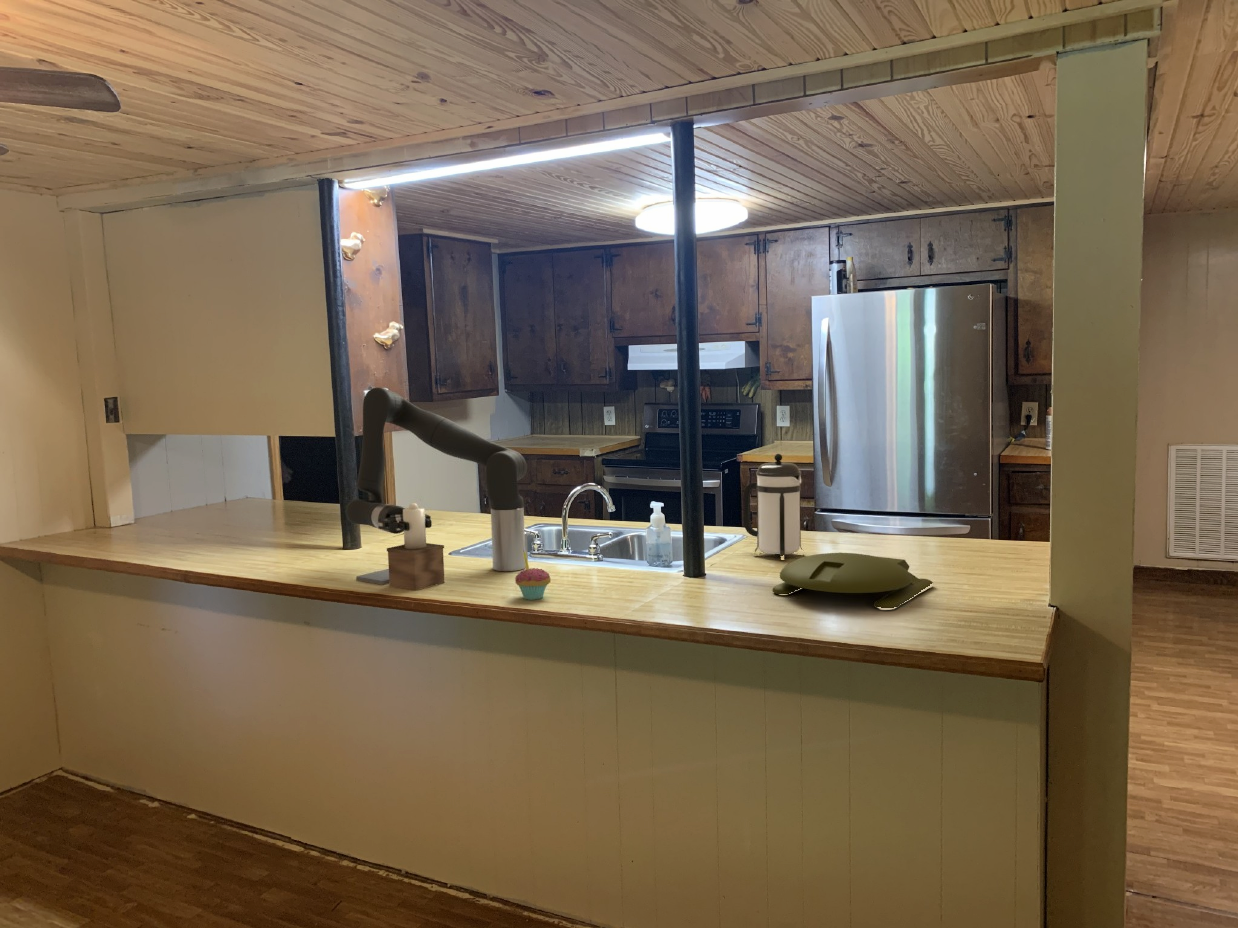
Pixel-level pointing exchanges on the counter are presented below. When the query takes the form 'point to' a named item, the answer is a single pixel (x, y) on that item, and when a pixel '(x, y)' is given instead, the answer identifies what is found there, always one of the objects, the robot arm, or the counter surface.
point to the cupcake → (532, 581)
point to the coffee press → (776, 508)
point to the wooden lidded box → (416, 566)
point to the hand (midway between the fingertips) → (418, 525)
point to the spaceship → (852, 576)
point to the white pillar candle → (414, 527)
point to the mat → (375, 577)
